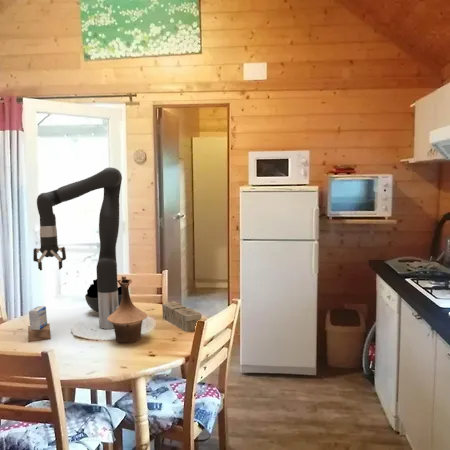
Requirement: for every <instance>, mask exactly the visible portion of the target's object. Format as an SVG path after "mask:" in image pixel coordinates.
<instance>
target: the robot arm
mask: <svg viewBox="0 0 450 450" xmlns="http://www.w3.org/2000/svg"><path fill="white" fill-rule="evenodd" d="M122 181H123V175H122V172H120V170H119V169H118V168H116V167H106V168H104V169H102V170H101V171H99V172H97V173H95V174H94V175H92V176H89V177H87V178H84V179H81V180H78V181H74V182H72V183H68V184H66V185H63V186H60V187H59V188H57V189H53V190H51V191H47V192H42V193H39V194H38V196H37V198H36V208H37V212H38V215H39V237H40V238H39V241H40V247H39V248H37V247H36V248H35V247H34V248H33V254H32V255H33V258H32V259H33V262H36V263H37V267H38V270H39V271H43V262H42V261H43V259H44V258H53V257H55V258H56V259H57V260H58V270H61V269H62V268H63V261H65V260H67V254H66V253H67V252H66V248H65V246H61V247H59V246H58V245H59V244H58V243H59V242H58V229H57V219H56V215H55V213H54V207H55V206H58V205H60V204H63V203H65V202H69V201H71V200H74V199H77V198H79V197H81V196H84V195H86V194H88V193H91V192H93V191H95V190H99V189H103V199H102V204H101V207H100V211H99V218H98V219H99V220H98V237H99V255H98V259H97V264H96V267H95V268H96V279H97V287H98V304H99V313H98V321H99V322H98V323H99V328H100V329H102V328H104V329H105V330H110V329H114V327H113V324H112V322H110V321H108V319H107V318H108V317H109V316H110V315H111V314H113V313H114V312H115V311H116V310H117V308H118V307H119V305H118V287H119V286H118V284H119V283H118V281H117V280H118V268H117V267H118V264H117V252H116V251H117V242H118V237H119V230H120V229H119V228H120V193H121V188H122V183H123V182H122ZM39 252H40V253H41V255H40V256H39V258H38V253H39ZM58 252H61V255H62V257H61V256H60V254H59V253H58ZM104 329H103V330H104Z"/></svg>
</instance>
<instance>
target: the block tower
mask: <svg viewBox="0 0 450 450" xmlns="http://www.w3.org/2000/svg"><path fill="white" fill-rule="evenodd" d="M161 307H162V319H163V320H165V321H167V322H168V323H170V324H171V325H173V326H175V327H176V328H178V329H180V330H182V331H184V333H187V332H192V331H196V330H195V326H196V323H197V321H198V320H200V321H201V320H202V319H203V318H202V317H203V316H202V313H201V312H198V311H196V310H194V309H192V308H189V307H187V308H186V306H185V305H183V304H181V303H179V302H177V301H175V300H173V301H168V302H165V303H162V304H161Z"/></svg>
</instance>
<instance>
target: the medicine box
mask: <svg viewBox="0 0 450 450" xmlns="http://www.w3.org/2000/svg"><path fill="white" fill-rule="evenodd" d="M28 317H29V318H28V319H29V326H30V330H40V329H42V328H43V327H44V326H46V325H47V324H48V318H47V317H48V316H47V307H46V306H43V305H41V306H36V307H33V309H31V310H28Z"/></svg>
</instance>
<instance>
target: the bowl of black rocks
mask: <svg viewBox="0 0 450 450" xmlns="http://www.w3.org/2000/svg"><path fill="white" fill-rule="evenodd" d="M86 293H87V294H85V296H84V298H85V301H86V305H88V307H89V308H90V309H92V311H94V312H96V313H98V314H99V304H98V287H97V278H96V279H93V280H92V283H91V284H89V286H88V288H87V291H86ZM121 299H122V287H121V286H120V285H119V286H118V305H120V303H121Z"/></svg>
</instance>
